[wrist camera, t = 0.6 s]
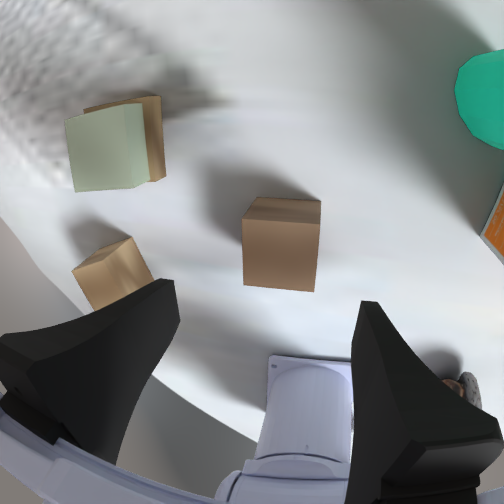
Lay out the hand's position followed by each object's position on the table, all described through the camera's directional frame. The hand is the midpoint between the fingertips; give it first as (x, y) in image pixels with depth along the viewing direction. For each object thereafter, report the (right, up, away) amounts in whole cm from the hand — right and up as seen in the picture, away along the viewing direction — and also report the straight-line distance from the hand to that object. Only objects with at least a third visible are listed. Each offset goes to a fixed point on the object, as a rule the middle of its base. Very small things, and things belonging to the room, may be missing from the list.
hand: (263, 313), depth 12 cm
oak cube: (-11, +1, +13) cm, 17 cm away
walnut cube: (+2, +4, +9) cm, 10 cm away
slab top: (-9, +9, +7) cm, 15 cm away
